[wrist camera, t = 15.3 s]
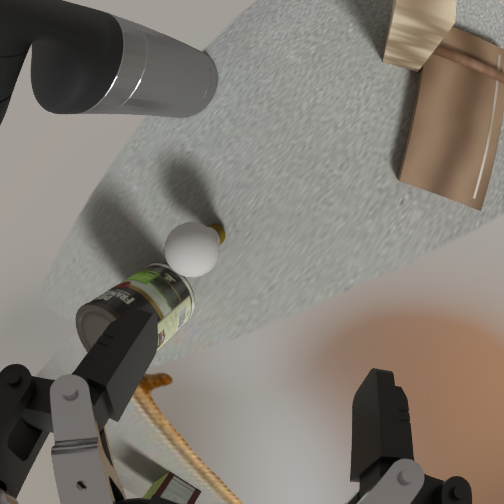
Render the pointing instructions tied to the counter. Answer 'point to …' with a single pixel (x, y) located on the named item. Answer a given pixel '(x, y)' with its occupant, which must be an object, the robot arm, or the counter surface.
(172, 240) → the light bulb
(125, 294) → the coffee can
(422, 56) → the l-shaped wooden block
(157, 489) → the protein box
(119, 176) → the counter surface
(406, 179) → the walnut board
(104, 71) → the robot arm
